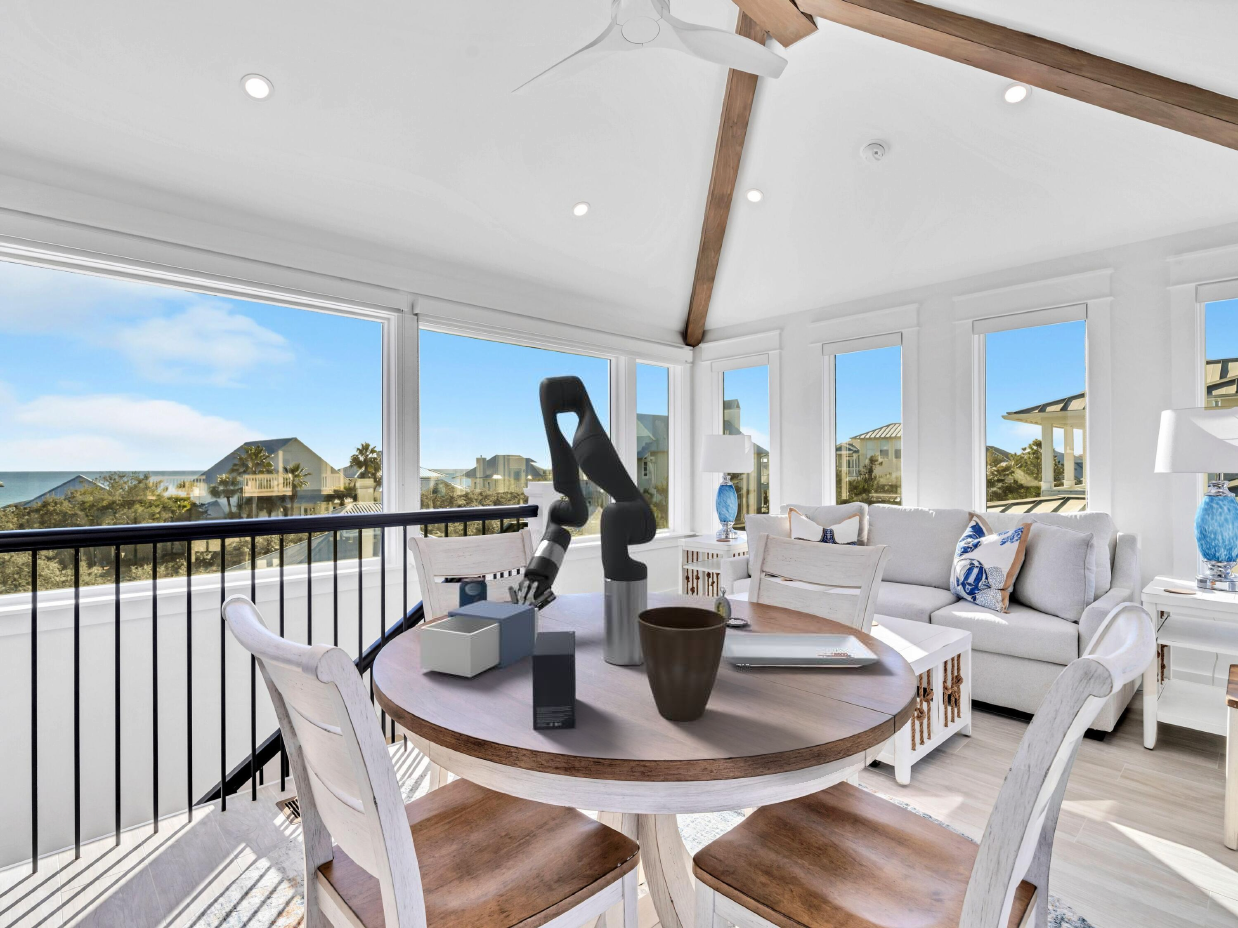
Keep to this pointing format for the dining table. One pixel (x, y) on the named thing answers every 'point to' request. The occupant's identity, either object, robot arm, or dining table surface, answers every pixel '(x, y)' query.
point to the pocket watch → (726, 609)
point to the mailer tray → (462, 645)
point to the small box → (554, 681)
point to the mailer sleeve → (506, 627)
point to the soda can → (472, 591)
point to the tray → (795, 649)
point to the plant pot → (681, 657)
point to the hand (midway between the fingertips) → (517, 624)
